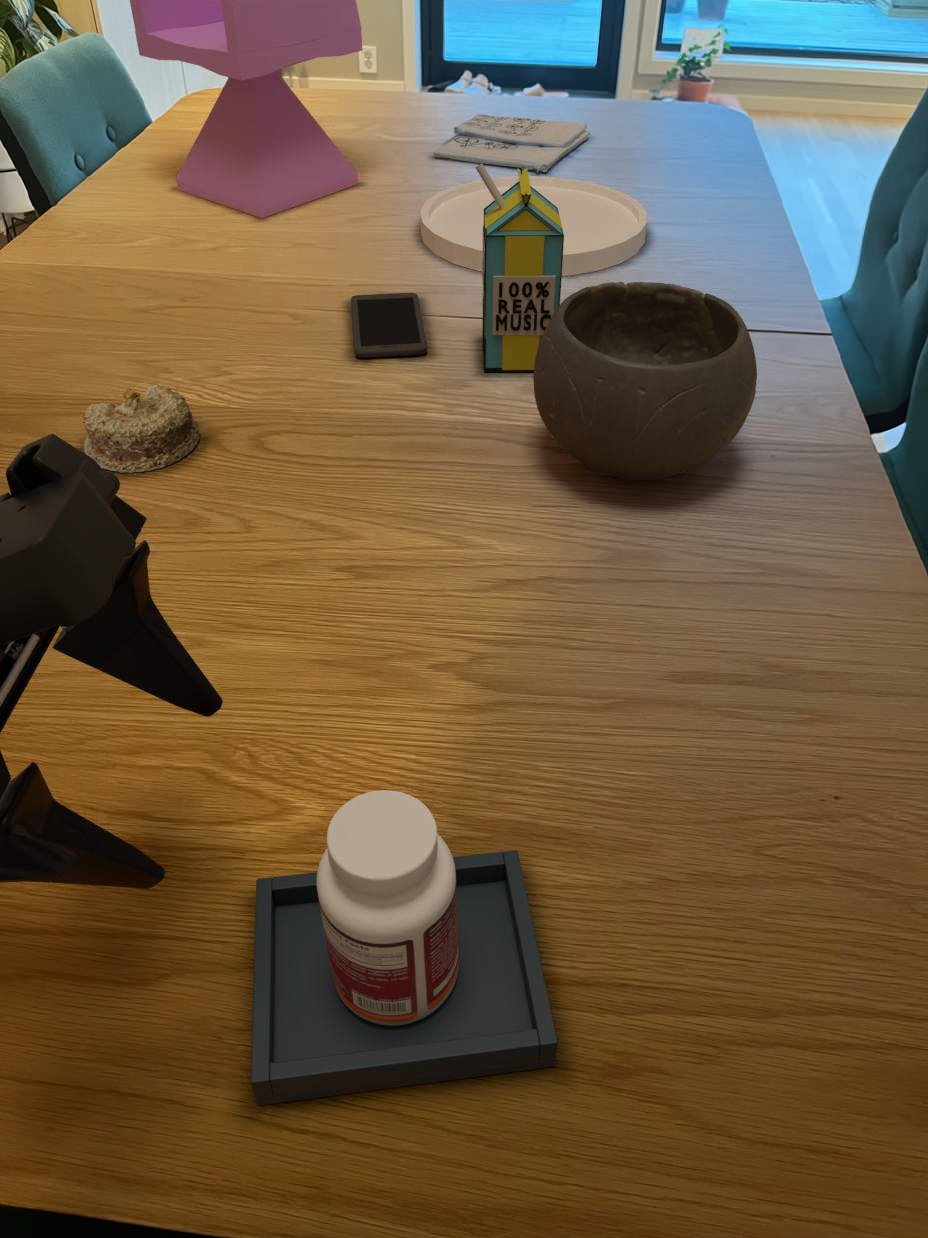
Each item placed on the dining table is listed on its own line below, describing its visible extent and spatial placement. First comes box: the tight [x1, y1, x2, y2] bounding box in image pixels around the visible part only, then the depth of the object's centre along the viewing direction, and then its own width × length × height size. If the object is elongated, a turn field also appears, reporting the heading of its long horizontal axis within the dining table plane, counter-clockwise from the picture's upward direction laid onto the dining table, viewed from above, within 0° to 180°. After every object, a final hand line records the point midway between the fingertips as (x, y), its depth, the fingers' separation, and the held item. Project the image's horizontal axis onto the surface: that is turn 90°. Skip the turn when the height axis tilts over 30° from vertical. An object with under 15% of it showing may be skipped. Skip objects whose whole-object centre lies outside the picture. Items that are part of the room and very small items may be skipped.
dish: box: [250, 849, 558, 1106], centre depth 50 cm, size 14×11×2 cm
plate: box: [419, 175, 648, 277], centre depth 126 cm, size 28×28×2 cm
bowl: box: [533, 281, 758, 481], centre depth 83 cm, size 18×18×13 cm
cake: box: [82, 384, 201, 474], centre depth 87 cm, size 10×10×5 cm
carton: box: [475, 163, 564, 374], centre depth 96 cm, size 7×8×18 cm
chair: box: [129, 0, 363, 219], centre depth 131 cm, size 20×20×30 cm
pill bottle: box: [316, 789, 459, 1026], centre depth 46 cm, size 6×6×11 cm
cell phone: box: [350, 292, 428, 359], centre depth 106 cm, size 7×14×1 cm, turn 6°
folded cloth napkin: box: [433, 113, 591, 173], centre depth 153 cm, size 19×20×2 cm
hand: (190, 788), depth 42 cm, fingers open, 9 cm apart
